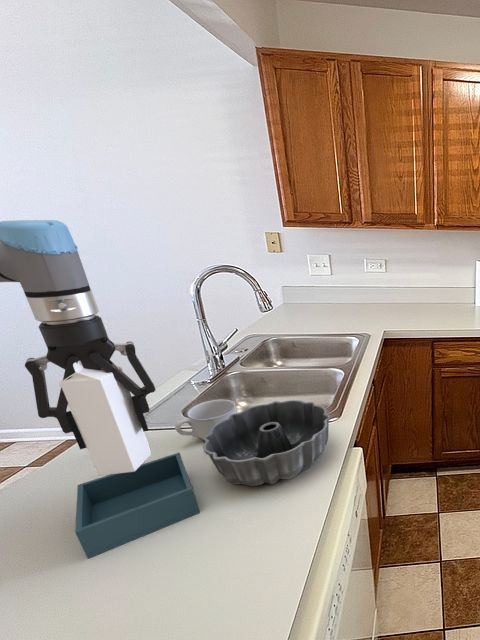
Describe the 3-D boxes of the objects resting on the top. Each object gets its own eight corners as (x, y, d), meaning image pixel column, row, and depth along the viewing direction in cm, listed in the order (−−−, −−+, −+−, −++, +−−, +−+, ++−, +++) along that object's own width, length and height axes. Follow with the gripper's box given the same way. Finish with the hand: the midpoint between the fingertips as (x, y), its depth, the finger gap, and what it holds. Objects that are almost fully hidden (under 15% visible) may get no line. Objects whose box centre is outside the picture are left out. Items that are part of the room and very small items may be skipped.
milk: (152, 453, 79) (117, 350, 71) (134, 472, 74) (94, 362, 66) (116, 457, 78) (77, 352, 70) (96, 476, 73) (50, 365, 65)
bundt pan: (306, 501, 83) (299, 461, 79) (184, 498, 84) (171, 458, 80) (349, 433, 107) (345, 400, 104) (254, 431, 108) (247, 399, 105)
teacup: (235, 419, 114) (228, 395, 111) (246, 434, 107) (240, 408, 104) (176, 438, 105) (168, 411, 102) (184, 455, 98) (175, 427, 95)
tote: (88, 508, 81) (77, 484, 78) (186, 474, 91) (179, 452, 89) (87, 558, 69) (75, 532, 67) (200, 512, 80) (192, 488, 77)
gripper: (-34, 336, 56) (32, 469, 65) (151, 312, 70) (186, 424, 78) (-23, 325, 61) (36, 449, 70) (147, 304, 75) (180, 411, 83)
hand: (115, 436), depth 74 cm, fingers closed on milk, 8 cm apart
